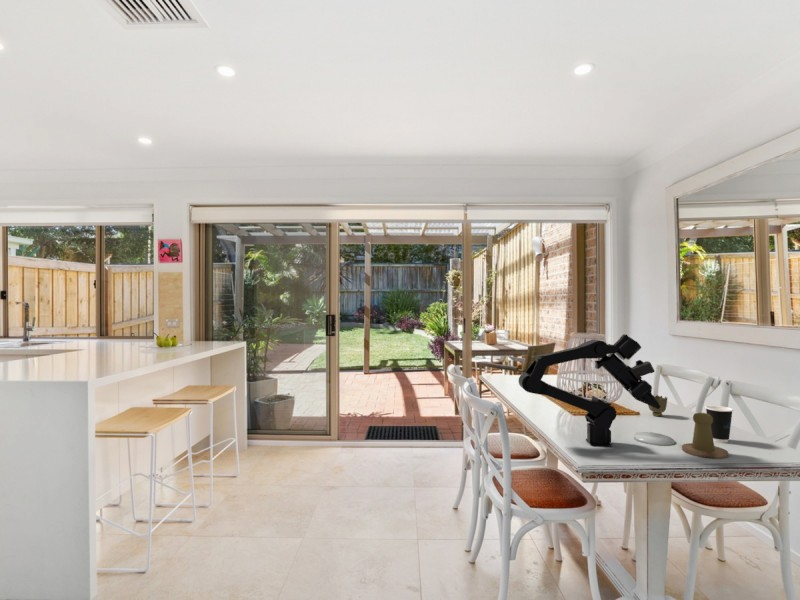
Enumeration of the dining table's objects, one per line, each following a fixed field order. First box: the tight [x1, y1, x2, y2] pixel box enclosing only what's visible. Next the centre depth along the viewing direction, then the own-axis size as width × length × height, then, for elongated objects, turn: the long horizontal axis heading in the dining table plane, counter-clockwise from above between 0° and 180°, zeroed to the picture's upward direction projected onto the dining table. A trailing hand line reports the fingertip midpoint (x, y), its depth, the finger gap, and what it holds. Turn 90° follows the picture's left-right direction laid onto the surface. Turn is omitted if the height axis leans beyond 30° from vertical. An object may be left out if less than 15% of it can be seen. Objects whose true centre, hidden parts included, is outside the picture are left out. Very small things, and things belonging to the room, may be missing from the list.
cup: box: [647, 394, 668, 417], centre depth 190 cm, size 8×7×8 cm
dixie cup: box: [704, 405, 734, 444], centre depth 155 cm, size 8×8×11 cm
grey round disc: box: [633, 431, 675, 447], centre depth 155 cm, size 12×12×1 cm
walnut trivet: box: [681, 442, 729, 460], centre depth 142 cm, size 12×12×1 cm
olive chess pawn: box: [691, 412, 715, 452], centre depth 143 cm, size 6×6×11 cm
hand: (656, 405), depth 147 cm, fingers open, 9 cm apart
